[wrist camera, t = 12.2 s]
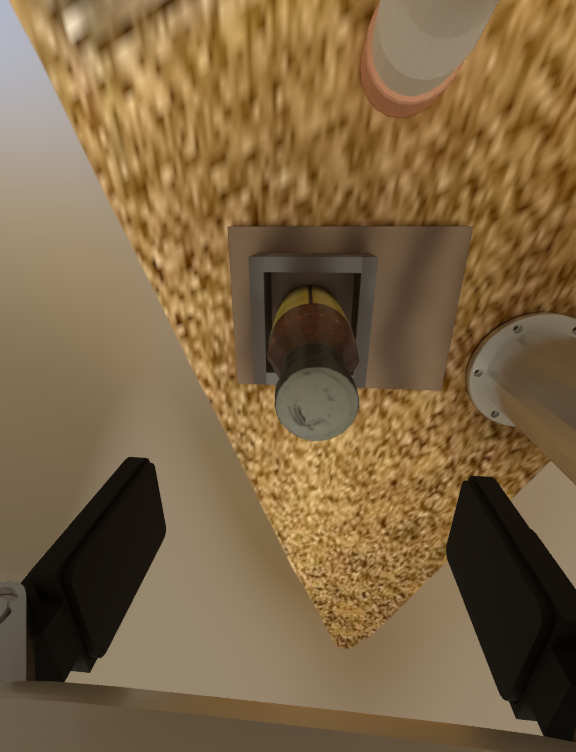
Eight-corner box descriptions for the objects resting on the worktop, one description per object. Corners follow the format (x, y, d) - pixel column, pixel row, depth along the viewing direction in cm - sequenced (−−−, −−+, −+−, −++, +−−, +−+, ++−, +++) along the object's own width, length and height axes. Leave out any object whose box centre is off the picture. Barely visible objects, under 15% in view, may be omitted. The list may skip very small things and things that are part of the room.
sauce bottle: (278, 342, 36) (239, 458, 18) (279, 281, 33) (234, 341, 15) (341, 345, 35) (368, 467, 17) (346, 283, 33) (385, 348, 15)
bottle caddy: (466, 226, 32) (500, 225, 26) (436, 384, 38) (459, 413, 32) (231, 226, 33) (212, 225, 27) (240, 378, 39) (226, 404, 34)
